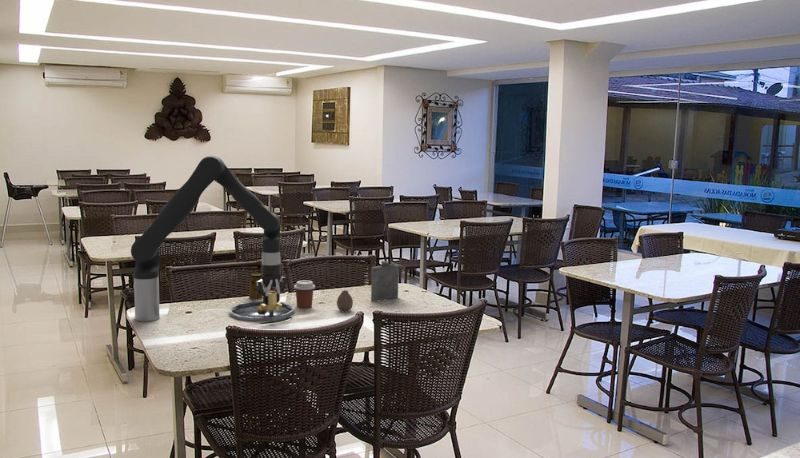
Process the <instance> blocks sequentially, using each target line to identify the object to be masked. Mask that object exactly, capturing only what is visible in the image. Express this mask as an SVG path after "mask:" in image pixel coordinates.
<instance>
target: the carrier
mask: <svg viewBox="0 0 800 458" xmlns="http://www.w3.org/2000/svg"><path fill="white" fill-rule="evenodd" d="M279 303H281V304H282V308H281V309H280V308H279V310H271V311H268V310H262V308H261V304H264V303H263V300H259V301H258V300H257V301H255V300H254V301H253V300H252V301H248V302H242V303H237V304H236V305H234V306H232V307H230V308H229V317H232V318H234V319H237V320H238V321H239V320H240V321H247V322H260V323H258V325H268V324H269V325H270V324H277V323H282V322H285V321H288V320H290V319H291V318H293V316H292V315H294V314H295V308H294V306H293V304H292V305H291V304H290V303H286V302H284V301H282V302H281V301H279Z"/></svg>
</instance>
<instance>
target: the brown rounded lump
mask: <svg viewBox="0 0 800 458" xmlns="http://www.w3.org/2000/svg"><path fill="white" fill-rule="evenodd" d="M353 305H354V300H353V297H352V296H351V294H350V293H349V290H348V289H347V290H344V289H343V290H342V291H341V293H340V294H339V295H338V297H337V299H336V306H337V307H336V308H337V309H338V310H339V311H340V312H342V311H347V312H349V310H350V311H351V310H352V308H353Z"/></svg>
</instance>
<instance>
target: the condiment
mask: <svg viewBox="0 0 800 458" xmlns="http://www.w3.org/2000/svg"><path fill="white" fill-rule="evenodd" d="M249 277H250V278H249V280H248V287H249V288H248V289H249V290H248V294H249V296H248V297H249V299H250V300H261V299H263V295H260V294H258V290H257V287H256V283H255V282H256V281H259V280H261V279H262V273H251V274H250V276H249ZM262 284H263V285H262V287H263V286H264V283H262Z"/></svg>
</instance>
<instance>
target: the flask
mask: <svg viewBox="0 0 800 458" xmlns="http://www.w3.org/2000/svg"><path fill="white" fill-rule="evenodd" d="M380 263H381V265H377V266H372V267H371V281H370V282H371V284H370V287H371V292H370V293H371V294H370V295H371V296H370V302H373V301H375V302H379V301H378V300H380V301H385V300H384V299H387V300H394V299H393V298H397V299H399V276H400V275H399V272H400V271H399V270H400V266H399V264H389V260H382V261H381V262H380Z"/></svg>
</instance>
